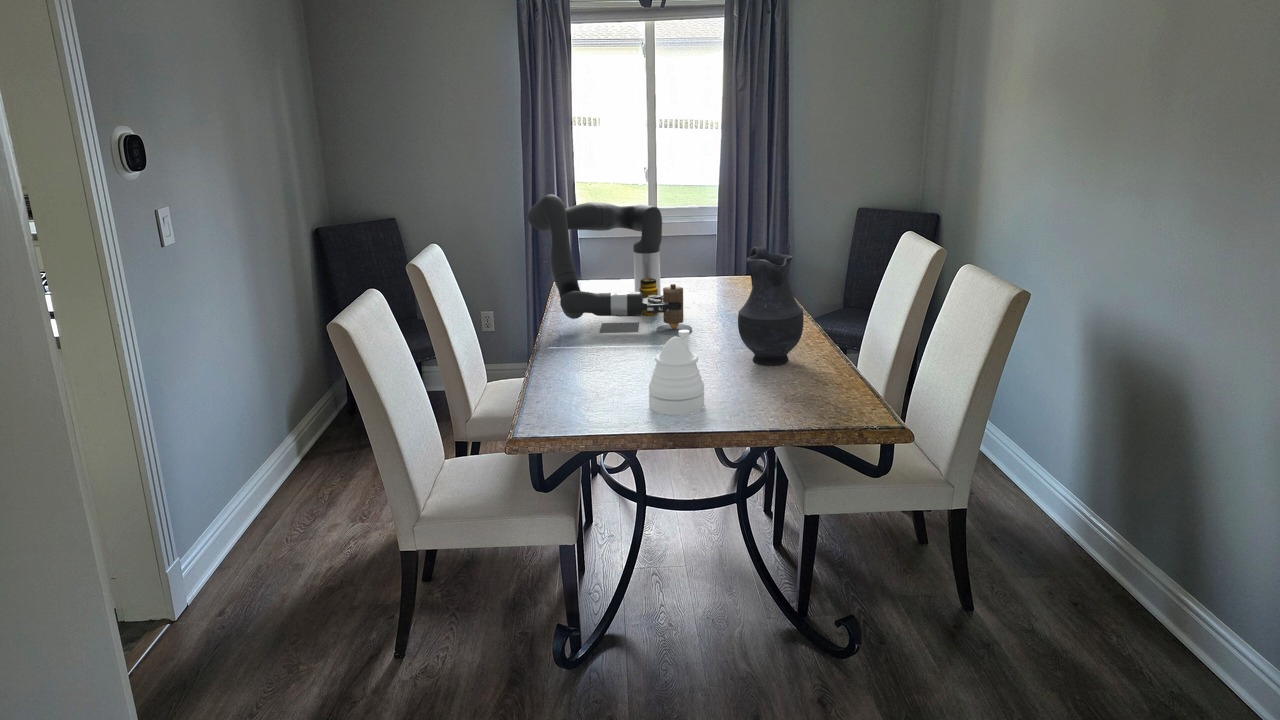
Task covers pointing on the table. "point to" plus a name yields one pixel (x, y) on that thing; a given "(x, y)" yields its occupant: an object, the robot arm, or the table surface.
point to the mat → (619, 327)
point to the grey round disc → (668, 330)
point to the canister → (673, 295)
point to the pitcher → (770, 310)
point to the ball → (673, 325)
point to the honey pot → (676, 379)
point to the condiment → (648, 291)
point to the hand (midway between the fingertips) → (681, 303)
